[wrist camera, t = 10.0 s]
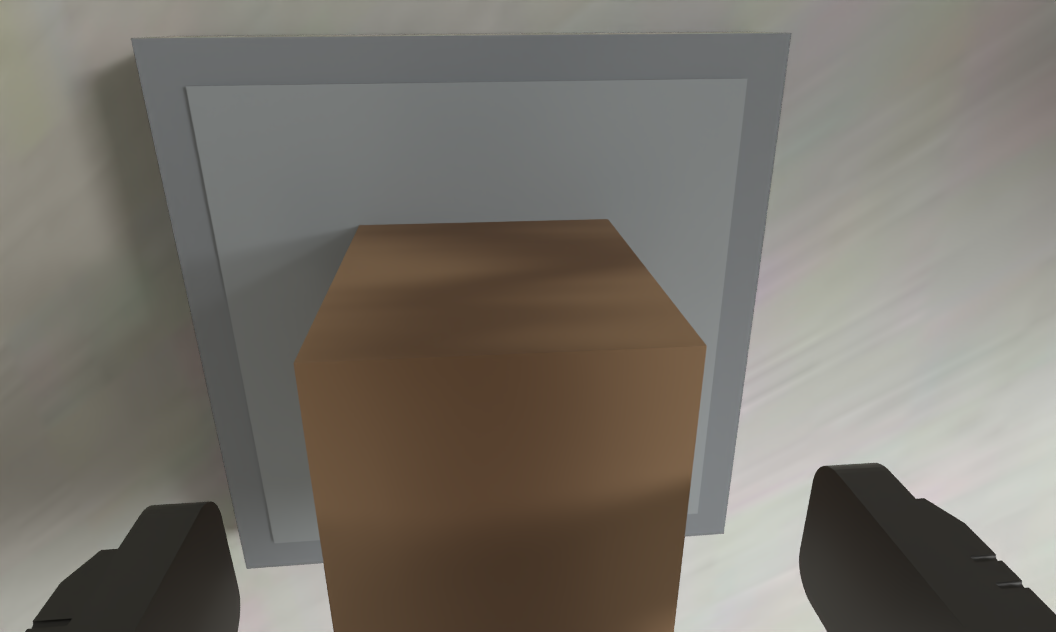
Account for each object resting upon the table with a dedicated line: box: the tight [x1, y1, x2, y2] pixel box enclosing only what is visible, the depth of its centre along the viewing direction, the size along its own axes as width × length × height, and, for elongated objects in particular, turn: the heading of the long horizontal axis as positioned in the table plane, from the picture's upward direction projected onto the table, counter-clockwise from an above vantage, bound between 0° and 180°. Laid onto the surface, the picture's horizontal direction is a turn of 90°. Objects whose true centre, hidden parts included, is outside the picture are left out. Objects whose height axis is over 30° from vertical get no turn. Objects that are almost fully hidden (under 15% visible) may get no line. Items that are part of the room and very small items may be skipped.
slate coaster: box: [131, 32, 791, 569], centre depth 16 cm, size 12×12×2 cm
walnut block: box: [293, 219, 707, 632], centre depth 12 cm, size 5×5×6 cm
